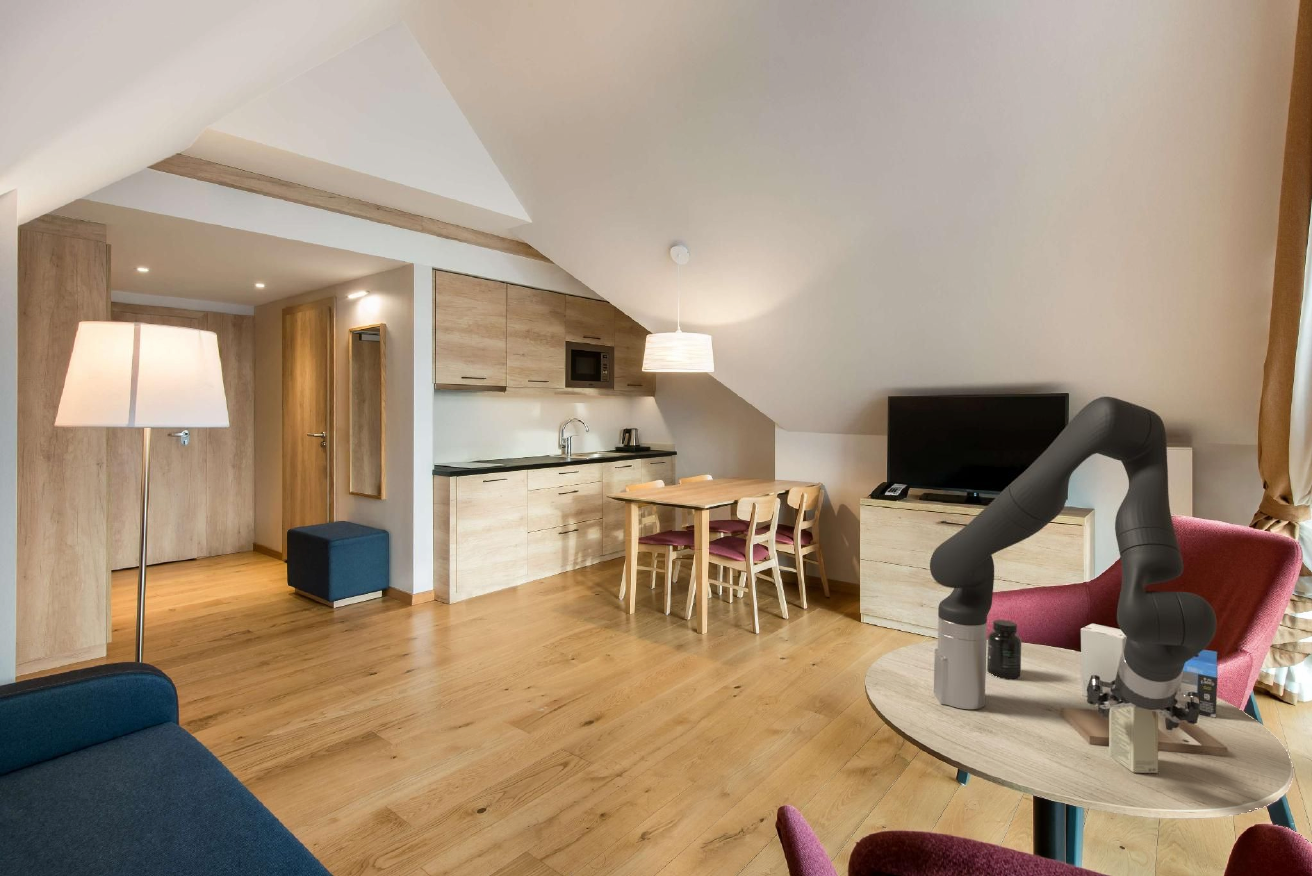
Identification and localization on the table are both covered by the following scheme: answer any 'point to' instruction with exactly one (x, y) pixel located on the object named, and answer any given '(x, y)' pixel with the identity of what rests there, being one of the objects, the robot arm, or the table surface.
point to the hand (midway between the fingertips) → (1135, 718)
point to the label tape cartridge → (1201, 681)
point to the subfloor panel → (1175, 740)
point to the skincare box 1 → (1100, 653)
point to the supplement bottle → (1004, 650)
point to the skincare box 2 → (1134, 738)
